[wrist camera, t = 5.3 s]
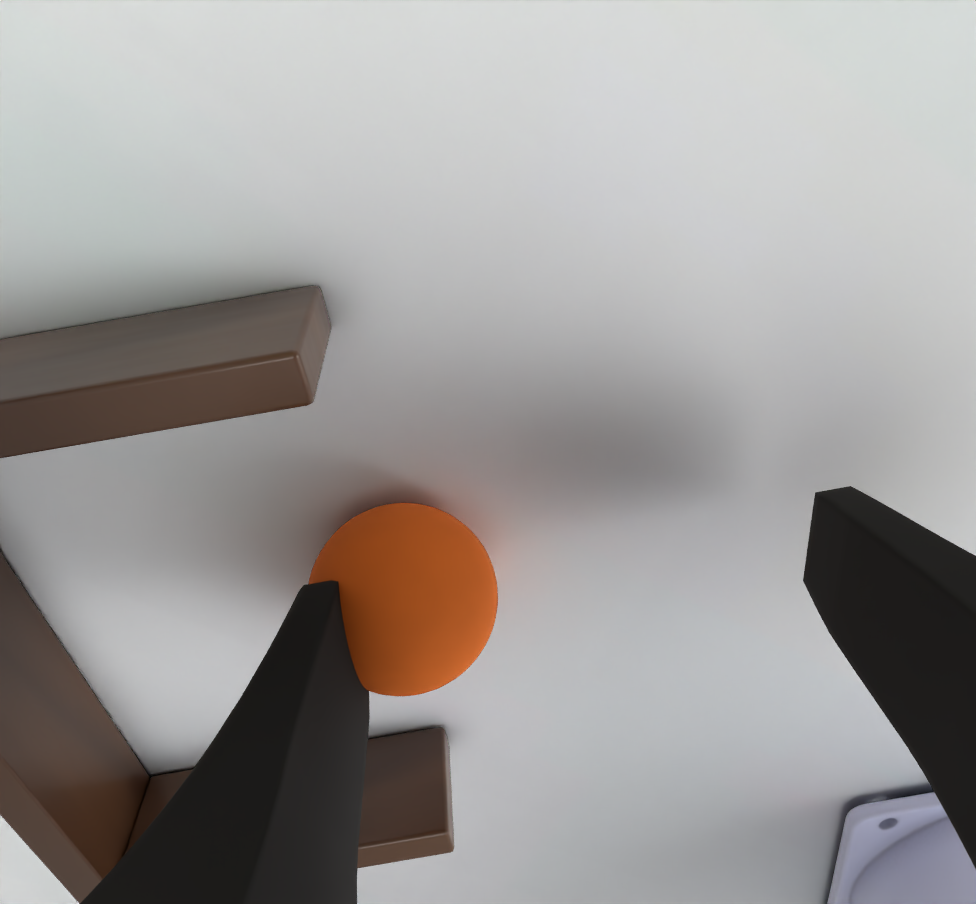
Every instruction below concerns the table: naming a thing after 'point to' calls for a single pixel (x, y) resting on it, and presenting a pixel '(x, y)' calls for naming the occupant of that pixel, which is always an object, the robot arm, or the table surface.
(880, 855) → the robot arm
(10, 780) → the brown u-shaped wall
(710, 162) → the table surface
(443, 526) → the ball
